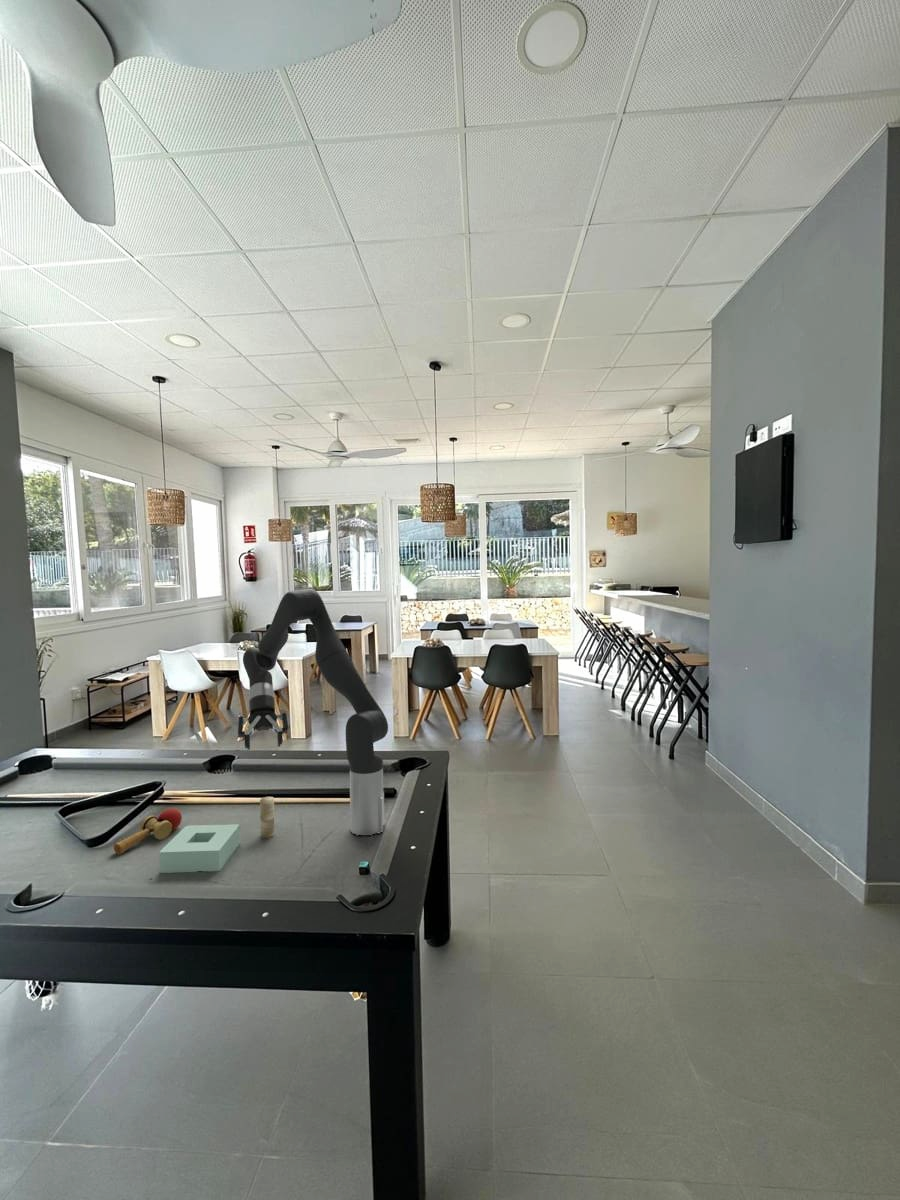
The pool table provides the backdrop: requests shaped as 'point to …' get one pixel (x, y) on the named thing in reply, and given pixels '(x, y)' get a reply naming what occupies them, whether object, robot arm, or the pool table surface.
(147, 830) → the kendama
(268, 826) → the pin
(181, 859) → the socket block
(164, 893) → the pool table surface
